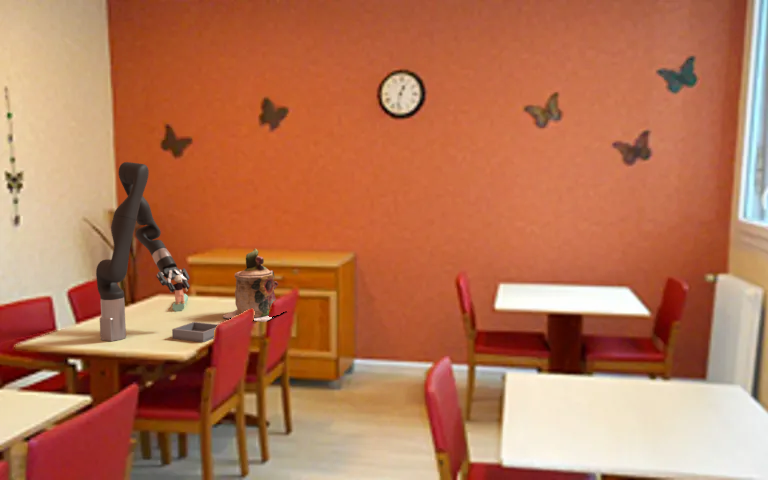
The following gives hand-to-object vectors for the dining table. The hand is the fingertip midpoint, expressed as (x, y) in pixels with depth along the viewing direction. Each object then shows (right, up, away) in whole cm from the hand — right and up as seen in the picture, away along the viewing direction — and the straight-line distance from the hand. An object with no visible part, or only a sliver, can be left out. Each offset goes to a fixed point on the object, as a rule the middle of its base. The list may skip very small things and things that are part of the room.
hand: (180, 289), depth 294 cm
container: (-16, -13, +53) cm, 57 cm away
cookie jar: (+27, -15, +32) cm, 44 cm away
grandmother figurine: (-1, -6, +2) cm, 7 cm away
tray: (+10, -19, -8) cm, 23 cm away
